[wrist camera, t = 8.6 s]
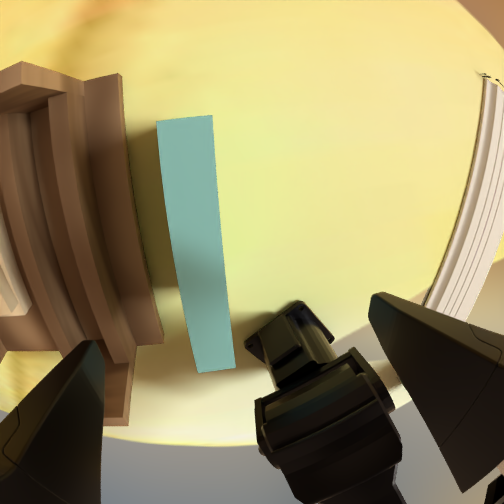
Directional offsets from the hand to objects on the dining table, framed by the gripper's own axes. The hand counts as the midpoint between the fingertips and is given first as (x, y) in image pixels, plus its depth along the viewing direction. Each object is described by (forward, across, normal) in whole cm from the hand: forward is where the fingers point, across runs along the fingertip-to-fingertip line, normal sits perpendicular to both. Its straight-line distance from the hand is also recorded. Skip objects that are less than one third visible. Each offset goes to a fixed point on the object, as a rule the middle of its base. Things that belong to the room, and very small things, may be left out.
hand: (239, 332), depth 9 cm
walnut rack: (+13, +14, 0) cm, 19 cm away
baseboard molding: (+14, -30, +3) cm, 33 cm away
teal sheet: (+13, +1, 0) cm, 13 cm away
